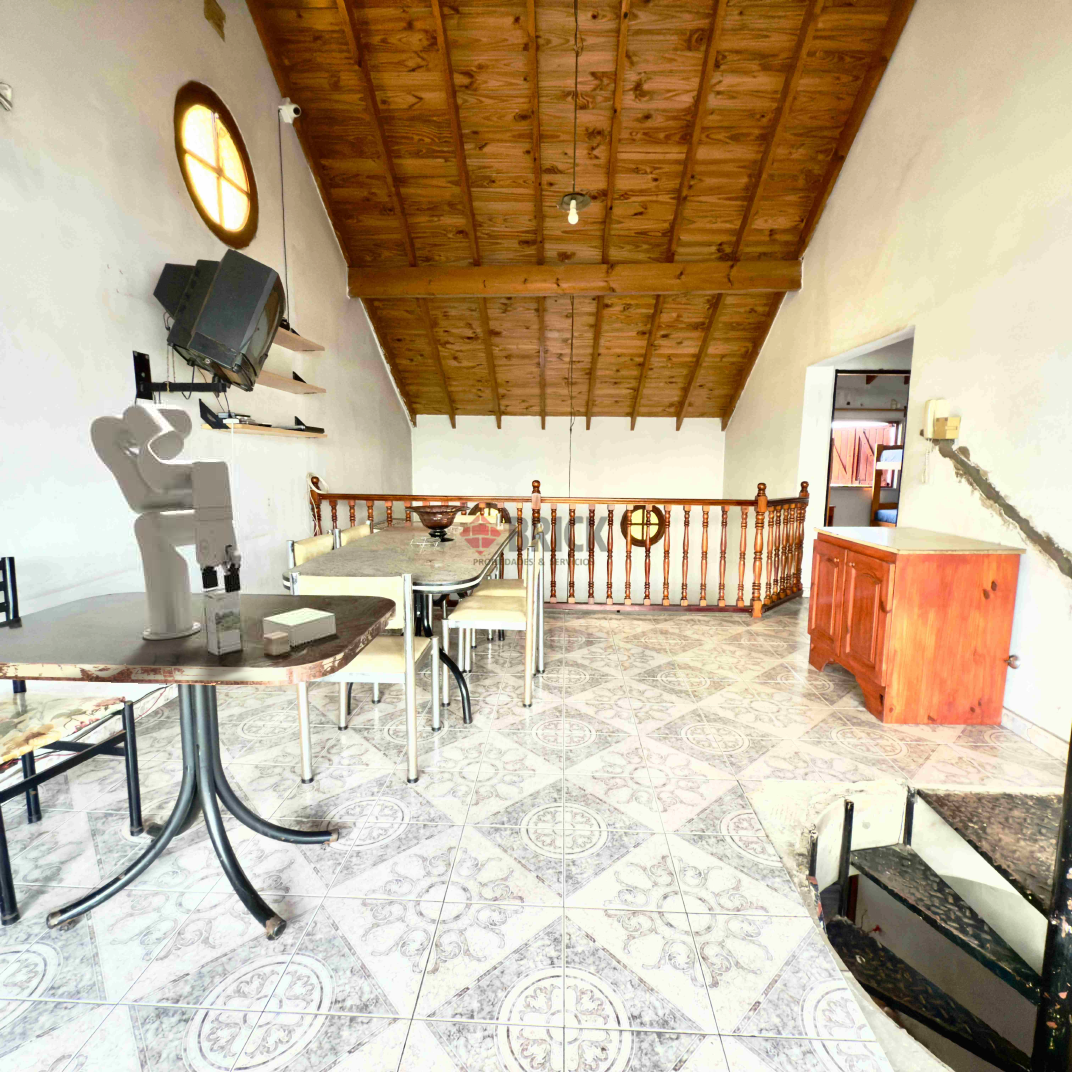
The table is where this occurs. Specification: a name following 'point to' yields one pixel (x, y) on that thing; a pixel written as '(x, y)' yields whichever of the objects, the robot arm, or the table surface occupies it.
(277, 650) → the ash block
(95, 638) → the table surface
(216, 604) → the syrup box
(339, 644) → the table surface
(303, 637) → the podium
